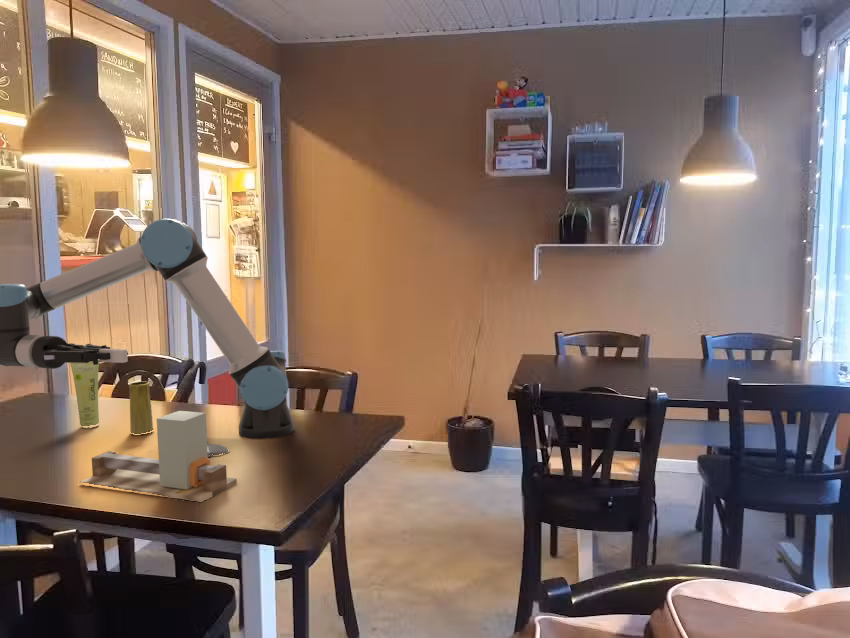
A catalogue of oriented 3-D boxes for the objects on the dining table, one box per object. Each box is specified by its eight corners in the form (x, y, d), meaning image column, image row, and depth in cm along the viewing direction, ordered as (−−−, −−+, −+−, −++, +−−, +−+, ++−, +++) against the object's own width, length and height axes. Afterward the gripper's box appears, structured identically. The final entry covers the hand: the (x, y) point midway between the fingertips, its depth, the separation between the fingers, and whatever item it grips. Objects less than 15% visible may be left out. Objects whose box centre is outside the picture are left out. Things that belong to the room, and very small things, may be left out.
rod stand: (80, 485, 144) (78, 462, 143) (121, 468, 155) (120, 446, 155) (201, 503, 133) (200, 477, 133) (236, 483, 145) (235, 459, 144)
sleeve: (160, 485, 140) (156, 418, 138) (182, 475, 146) (179, 410, 145) (192, 490, 137) (188, 421, 135) (213, 479, 144) (210, 413, 142)
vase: (137, 437, 181) (134, 386, 179) (125, 433, 184) (123, 383, 183) (158, 432, 186) (155, 382, 184) (146, 428, 189) (143, 380, 188)
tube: (85, 430, 188) (80, 363, 185) (74, 428, 190) (69, 362, 188) (103, 425, 192) (99, 360, 190) (92, 423, 195) (88, 359, 193)
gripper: (68, 362, 159) (147, 367, 151) (19, 372, 147) (103, 378, 139) (66, 332, 158) (145, 335, 151) (17, 339, 146) (100, 343, 138)
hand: (124, 356), depth 145 cm, fingers closed
